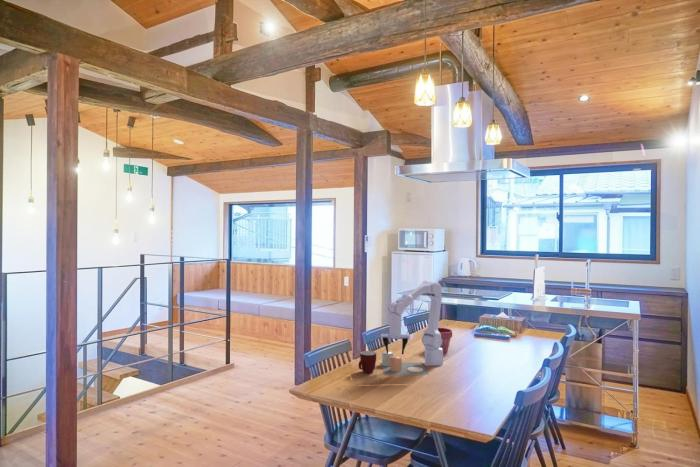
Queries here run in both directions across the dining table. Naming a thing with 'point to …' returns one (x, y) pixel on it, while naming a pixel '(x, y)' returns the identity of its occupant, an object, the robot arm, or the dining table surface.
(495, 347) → the dining table surface
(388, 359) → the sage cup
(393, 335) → the robot arm
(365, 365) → the mug
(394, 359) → the tan piece
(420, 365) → the mat
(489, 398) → the dining table surface
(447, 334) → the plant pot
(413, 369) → the pad
